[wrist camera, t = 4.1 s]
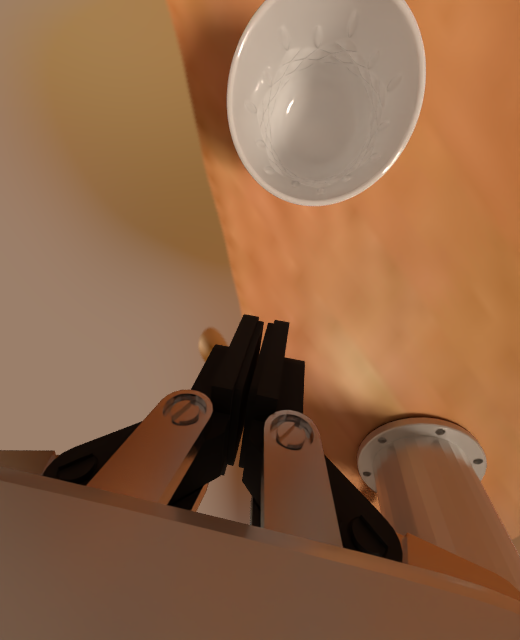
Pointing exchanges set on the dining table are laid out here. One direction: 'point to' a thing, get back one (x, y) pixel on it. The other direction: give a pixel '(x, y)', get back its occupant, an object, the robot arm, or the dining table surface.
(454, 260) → the dining table surface
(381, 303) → the dining table surface
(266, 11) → the white cup
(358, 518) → the robot arm
